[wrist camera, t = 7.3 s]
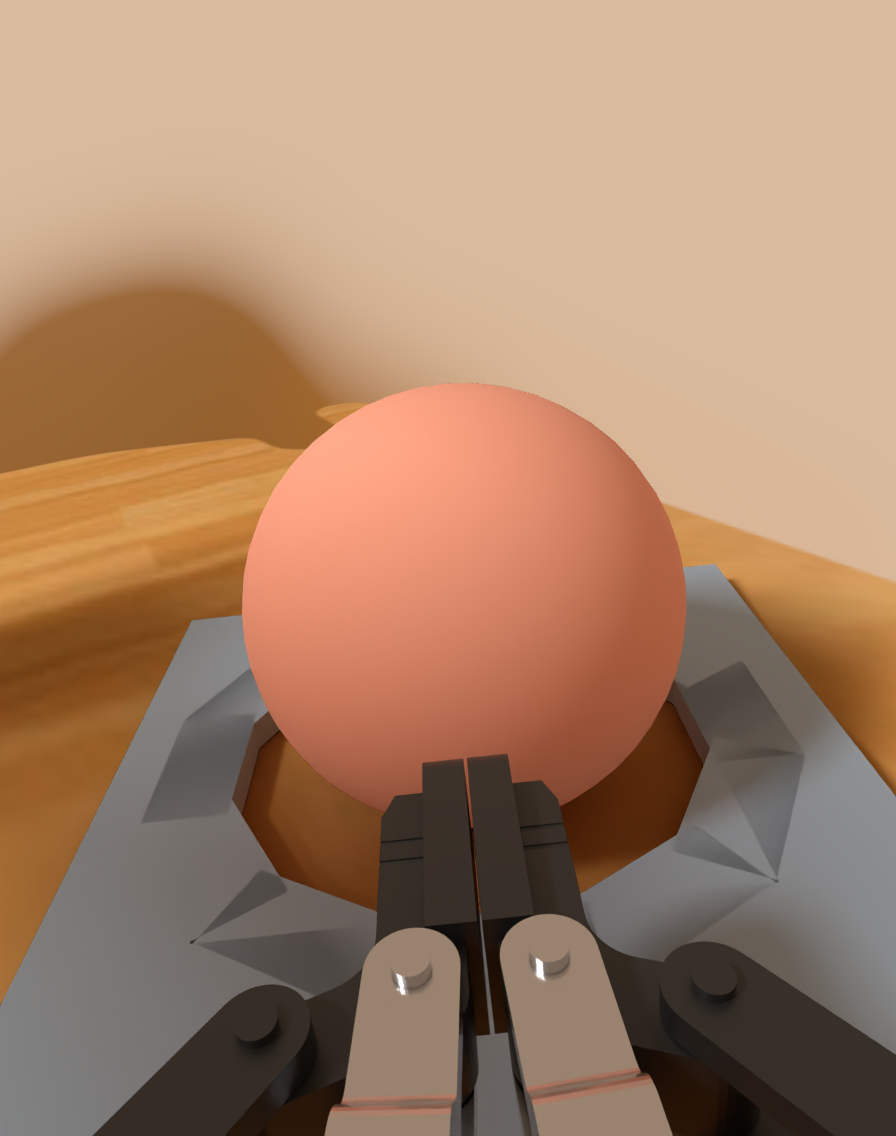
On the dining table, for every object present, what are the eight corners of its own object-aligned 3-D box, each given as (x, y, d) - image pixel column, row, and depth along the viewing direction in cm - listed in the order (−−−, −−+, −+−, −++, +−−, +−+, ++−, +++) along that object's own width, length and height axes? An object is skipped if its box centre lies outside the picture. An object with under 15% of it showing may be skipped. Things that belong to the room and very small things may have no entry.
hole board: (1183, 1222, 14) (1199, 1187, 14) (-134, 1354, 14) (-158, 1323, 14) (714, 585, 36) (715, 563, 35) (197, 641, 36) (191, 620, 36)
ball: (75, 738, 18) (210, 556, 29) (495, 1013, 21) (470, 750, 32) (448, 289, 15) (437, 278, 26) (873, 680, 18) (700, 519, 29)
